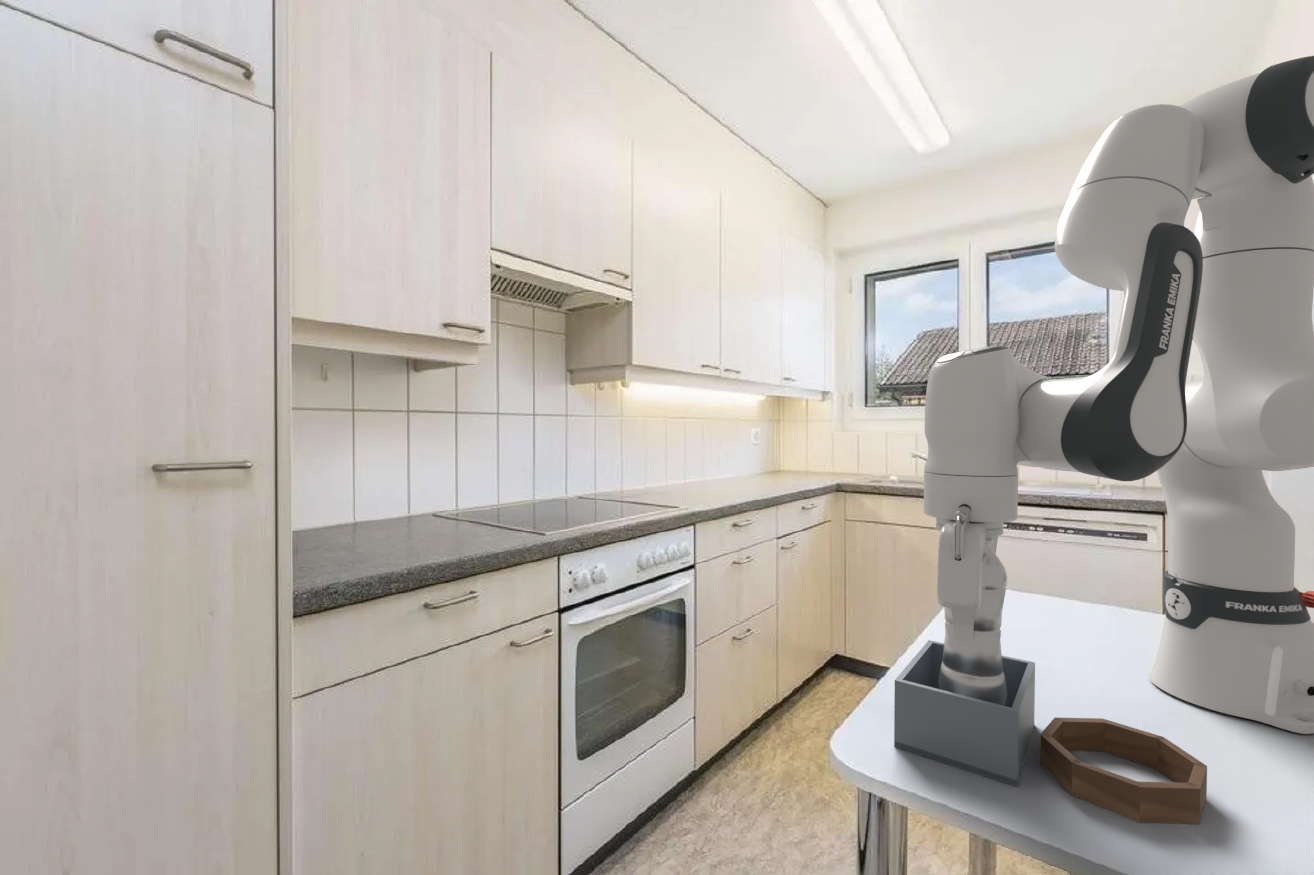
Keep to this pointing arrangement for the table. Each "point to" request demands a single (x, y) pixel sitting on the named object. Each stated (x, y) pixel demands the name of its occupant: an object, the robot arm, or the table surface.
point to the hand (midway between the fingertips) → (967, 628)
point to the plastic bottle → (978, 643)
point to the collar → (1114, 790)
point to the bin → (965, 718)
